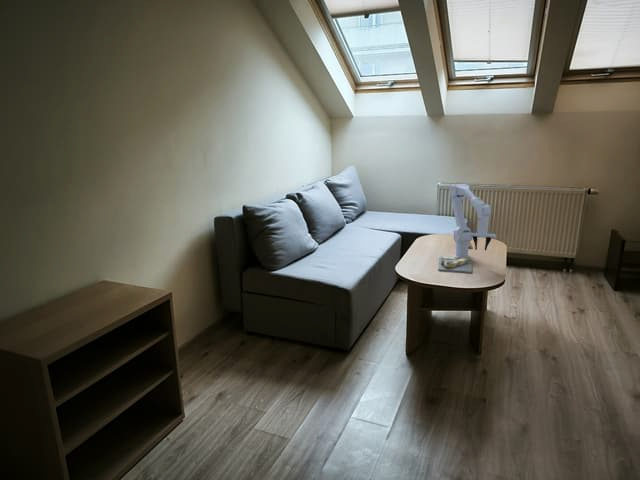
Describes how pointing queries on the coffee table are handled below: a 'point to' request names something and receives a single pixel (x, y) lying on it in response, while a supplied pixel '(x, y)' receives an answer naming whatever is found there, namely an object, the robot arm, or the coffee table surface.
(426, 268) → the coffee table surface
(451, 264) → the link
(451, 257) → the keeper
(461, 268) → the board
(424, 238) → the coffee table surface
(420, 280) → the coffee table surface
